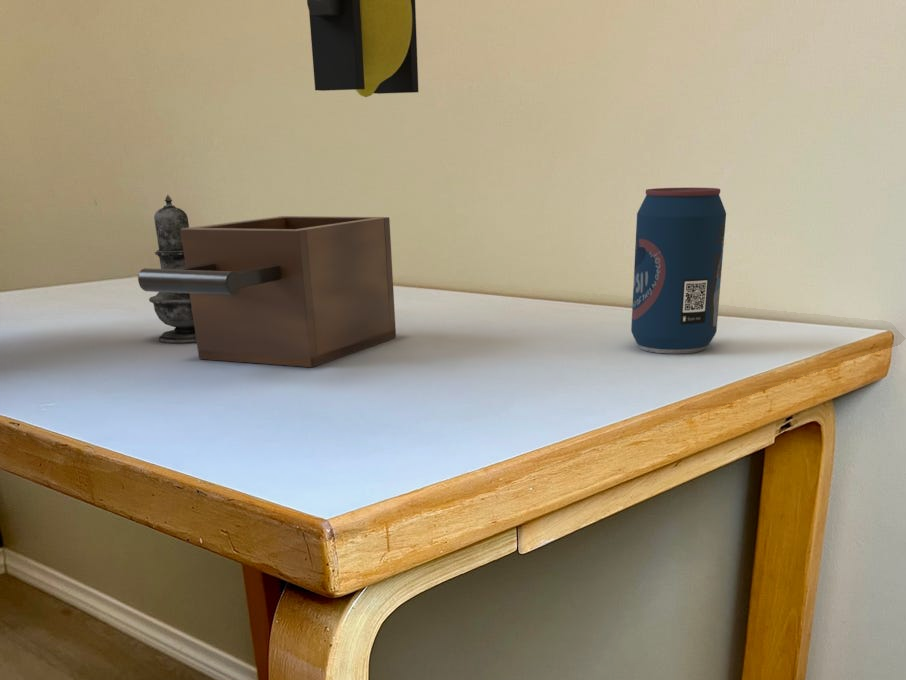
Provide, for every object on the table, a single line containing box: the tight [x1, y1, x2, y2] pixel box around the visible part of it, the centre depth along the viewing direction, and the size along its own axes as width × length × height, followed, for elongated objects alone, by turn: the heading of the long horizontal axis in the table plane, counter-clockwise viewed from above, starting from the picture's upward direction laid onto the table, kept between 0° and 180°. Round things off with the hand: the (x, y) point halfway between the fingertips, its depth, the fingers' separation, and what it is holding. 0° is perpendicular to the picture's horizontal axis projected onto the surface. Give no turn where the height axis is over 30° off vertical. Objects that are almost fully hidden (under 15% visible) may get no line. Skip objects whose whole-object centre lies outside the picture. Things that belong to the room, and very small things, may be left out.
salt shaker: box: [148, 194, 197, 344], centre depth 90 cm, size 6×6×12 cm
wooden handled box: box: [137, 215, 397, 368], centre depth 82 cm, size 21×11×10 cm, turn 156°
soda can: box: [630, 187, 727, 355], centre depth 81 cm, size 7×7×12 cm
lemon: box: [355, 0, 412, 98], centre depth 56 cm, size 6×6×8 cm
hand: (368, 90), depth 57 cm, fingers closed on lemon, 5 cm apart
